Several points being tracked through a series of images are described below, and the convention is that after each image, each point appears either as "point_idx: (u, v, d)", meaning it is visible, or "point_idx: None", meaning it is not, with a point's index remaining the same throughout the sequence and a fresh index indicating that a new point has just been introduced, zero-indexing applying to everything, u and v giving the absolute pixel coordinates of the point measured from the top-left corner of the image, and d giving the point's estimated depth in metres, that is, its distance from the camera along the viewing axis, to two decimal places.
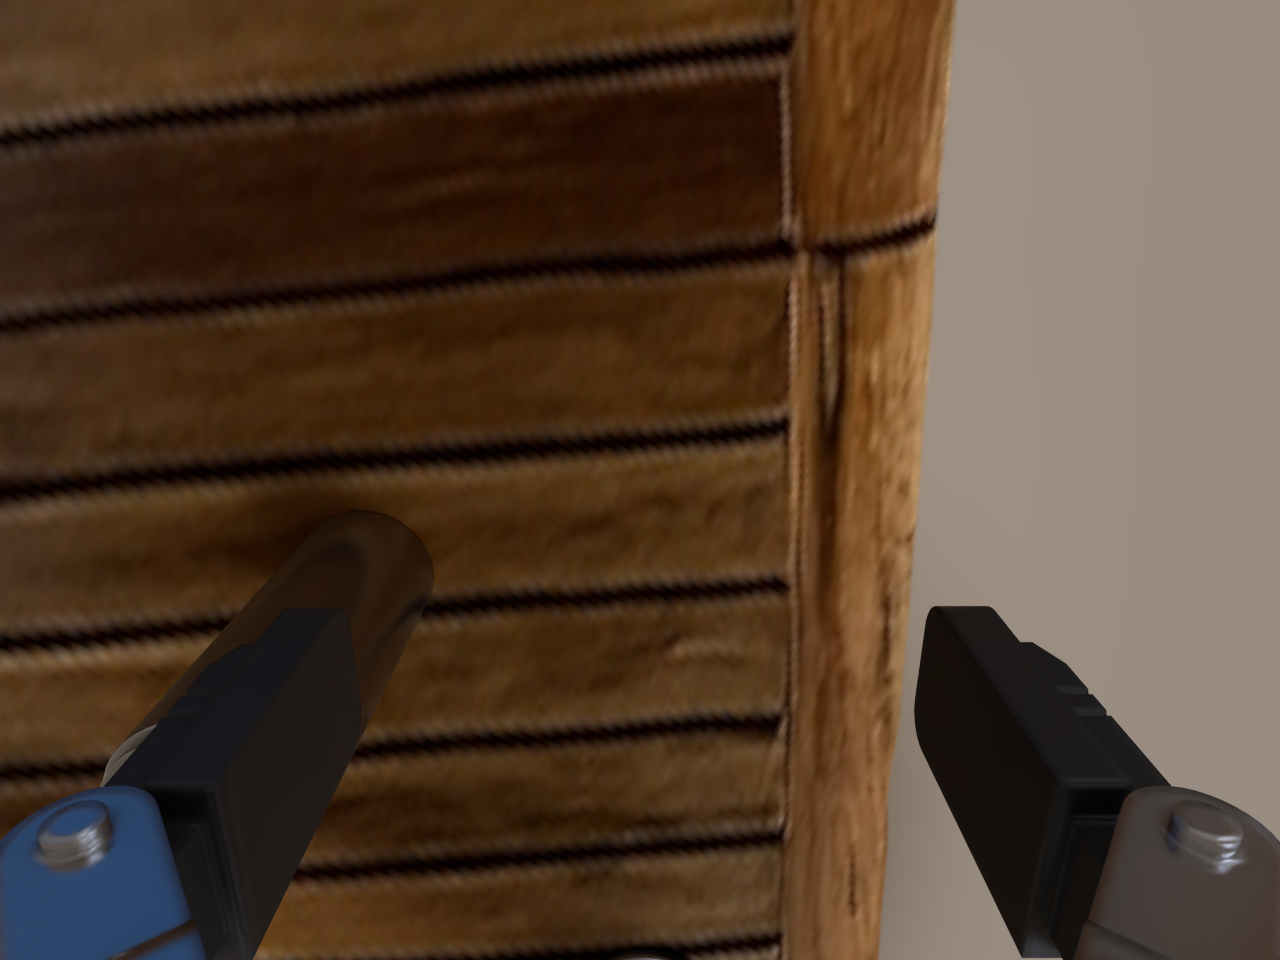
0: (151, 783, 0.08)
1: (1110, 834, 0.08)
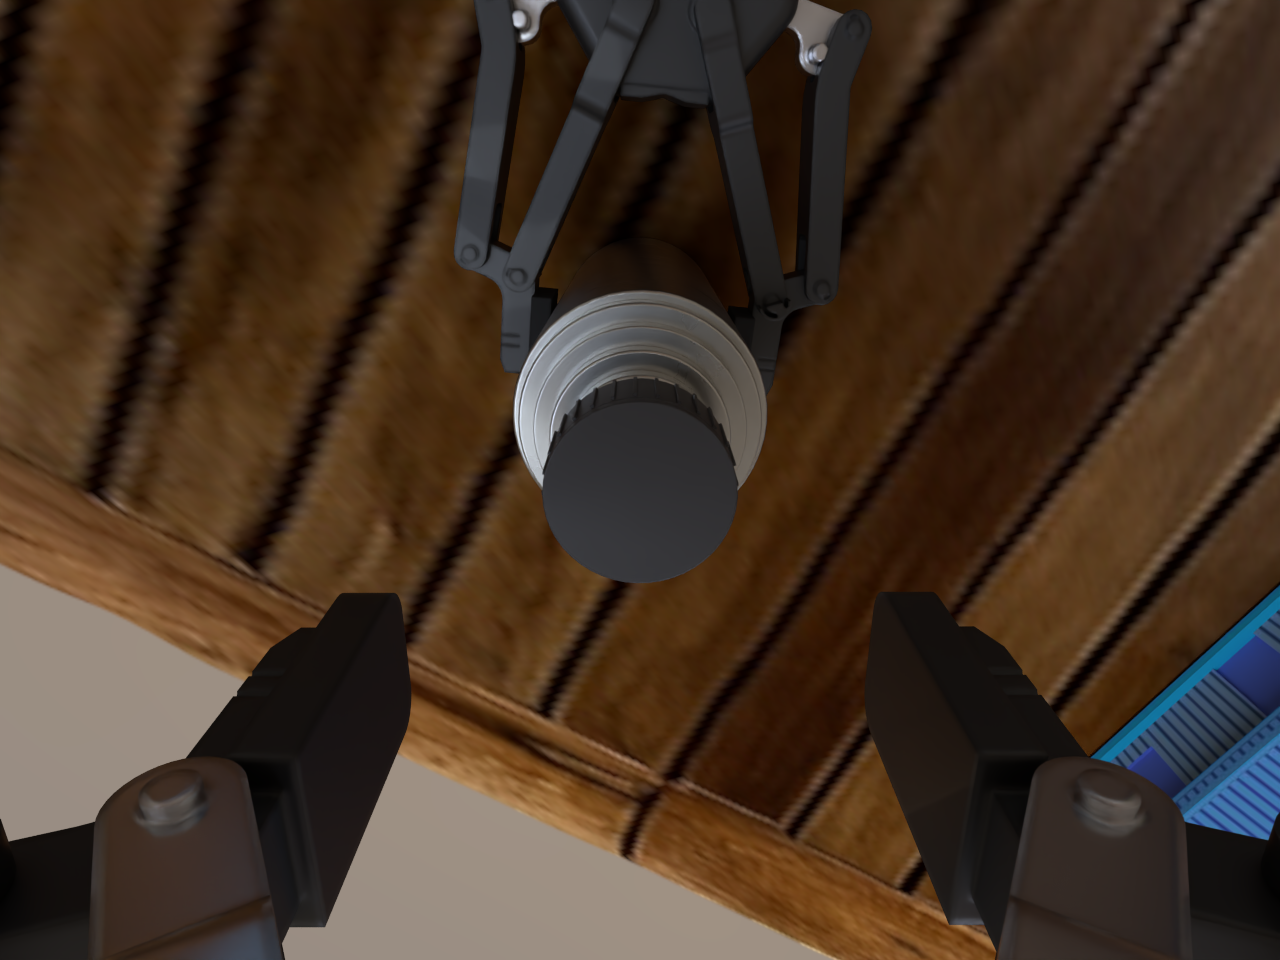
0: (236, 754, 0.08)
1: (1025, 803, 0.08)
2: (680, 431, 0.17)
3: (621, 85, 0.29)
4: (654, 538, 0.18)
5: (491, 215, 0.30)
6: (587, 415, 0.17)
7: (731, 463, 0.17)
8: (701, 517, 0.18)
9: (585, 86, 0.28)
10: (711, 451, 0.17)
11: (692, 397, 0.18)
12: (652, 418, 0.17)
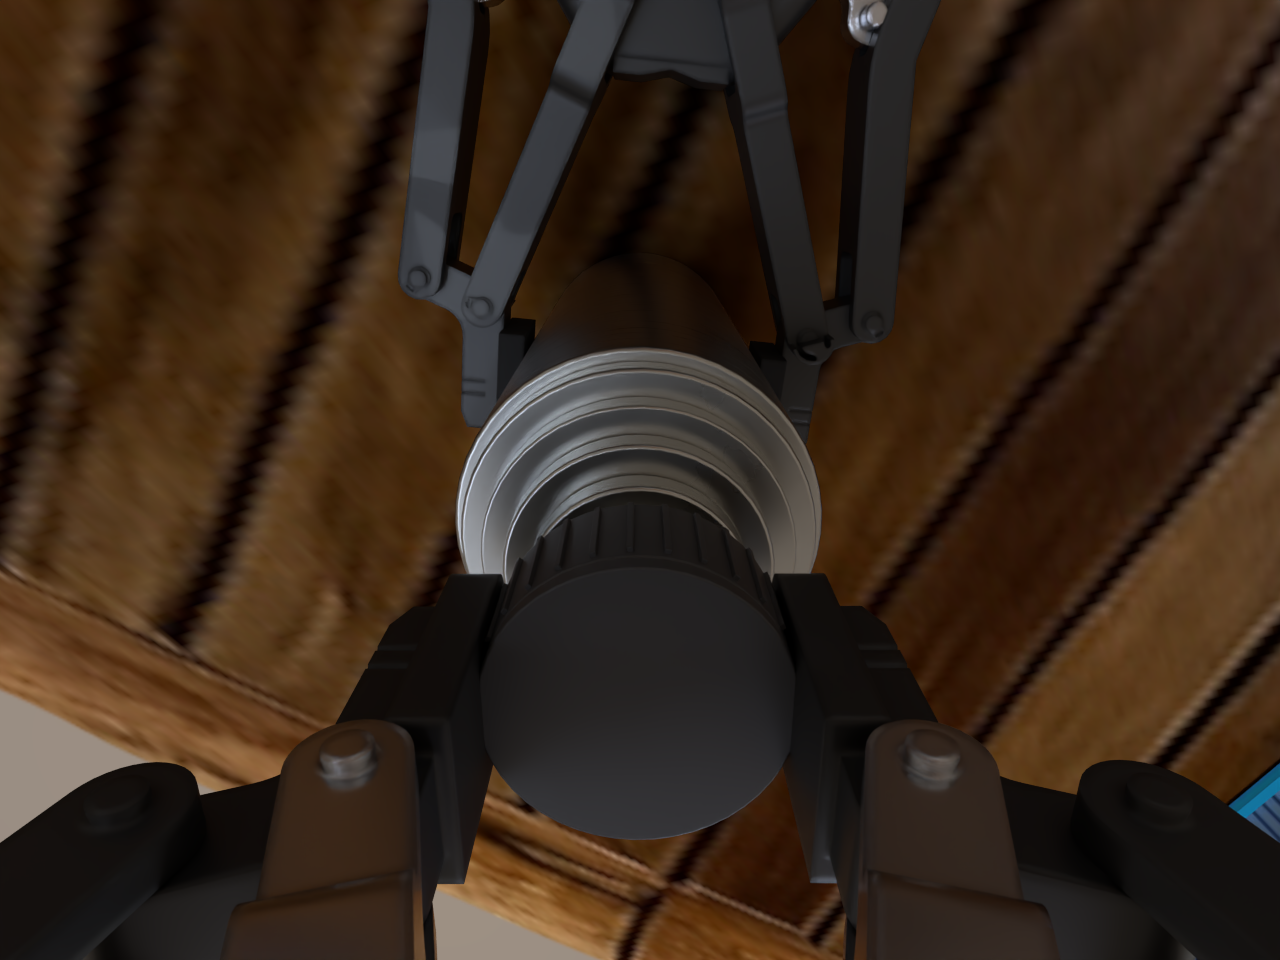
0: (392, 718, 0.09)
1: None
2: (706, 614, 0.10)
3: (614, 58, 0.22)
4: (663, 775, 0.11)
5: (445, 229, 0.23)
6: (548, 588, 0.10)
7: (792, 663, 0.10)
8: (740, 744, 0.11)
9: (566, 59, 0.21)
10: (758, 645, 0.10)
11: (722, 536, 0.11)
12: (659, 594, 0.10)
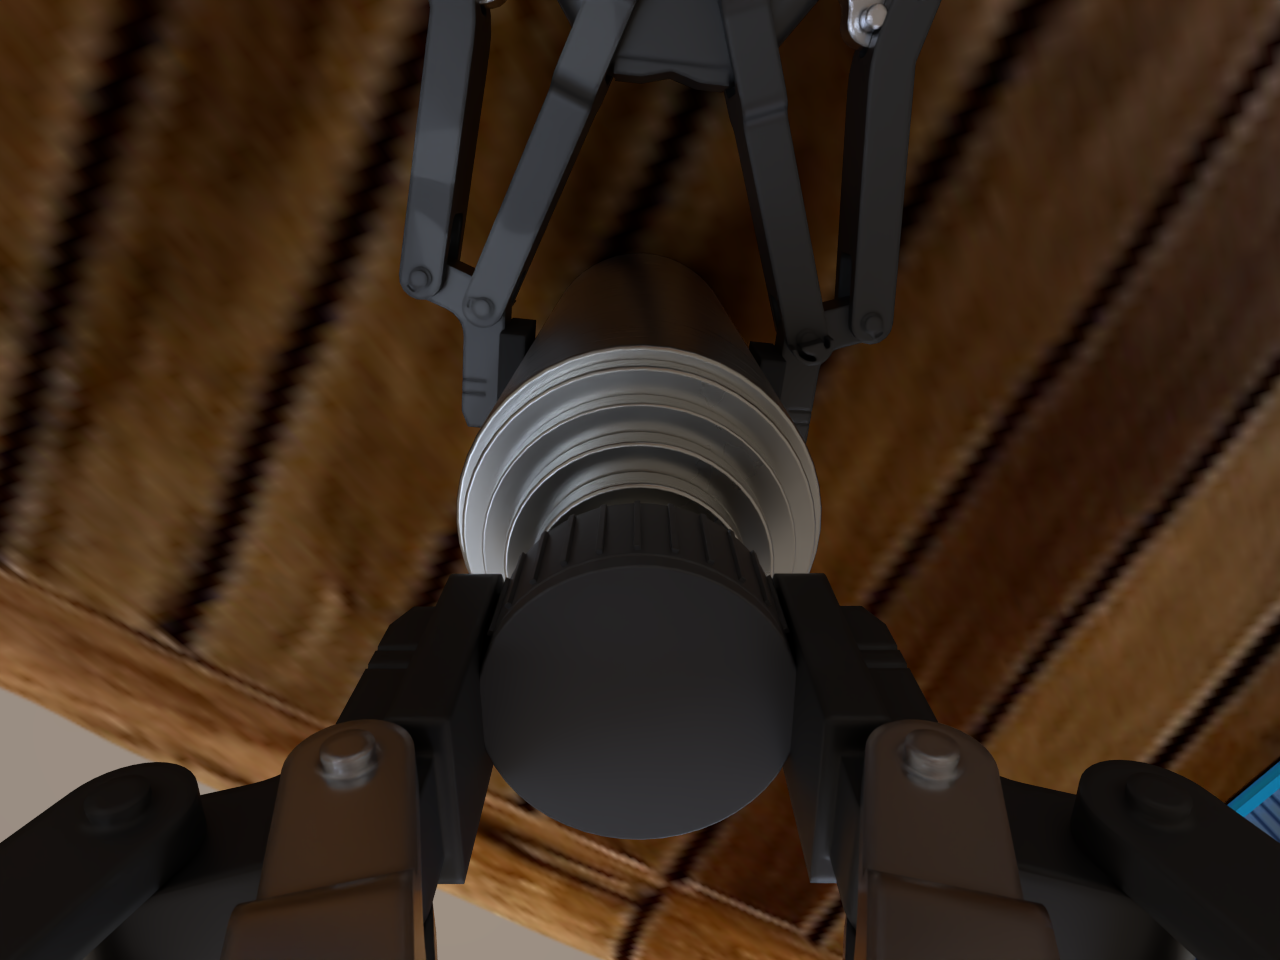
0: (392, 718, 0.09)
1: None
2: (513, 674, 0.10)
3: (615, 60, 0.22)
4: (711, 680, 0.10)
5: (446, 229, 0.23)
6: (524, 796, 0.11)
7: (548, 590, 0.10)
8: (658, 616, 0.10)
9: (567, 60, 0.21)
10: (534, 625, 0.10)
11: None
12: (502, 717, 0.10)
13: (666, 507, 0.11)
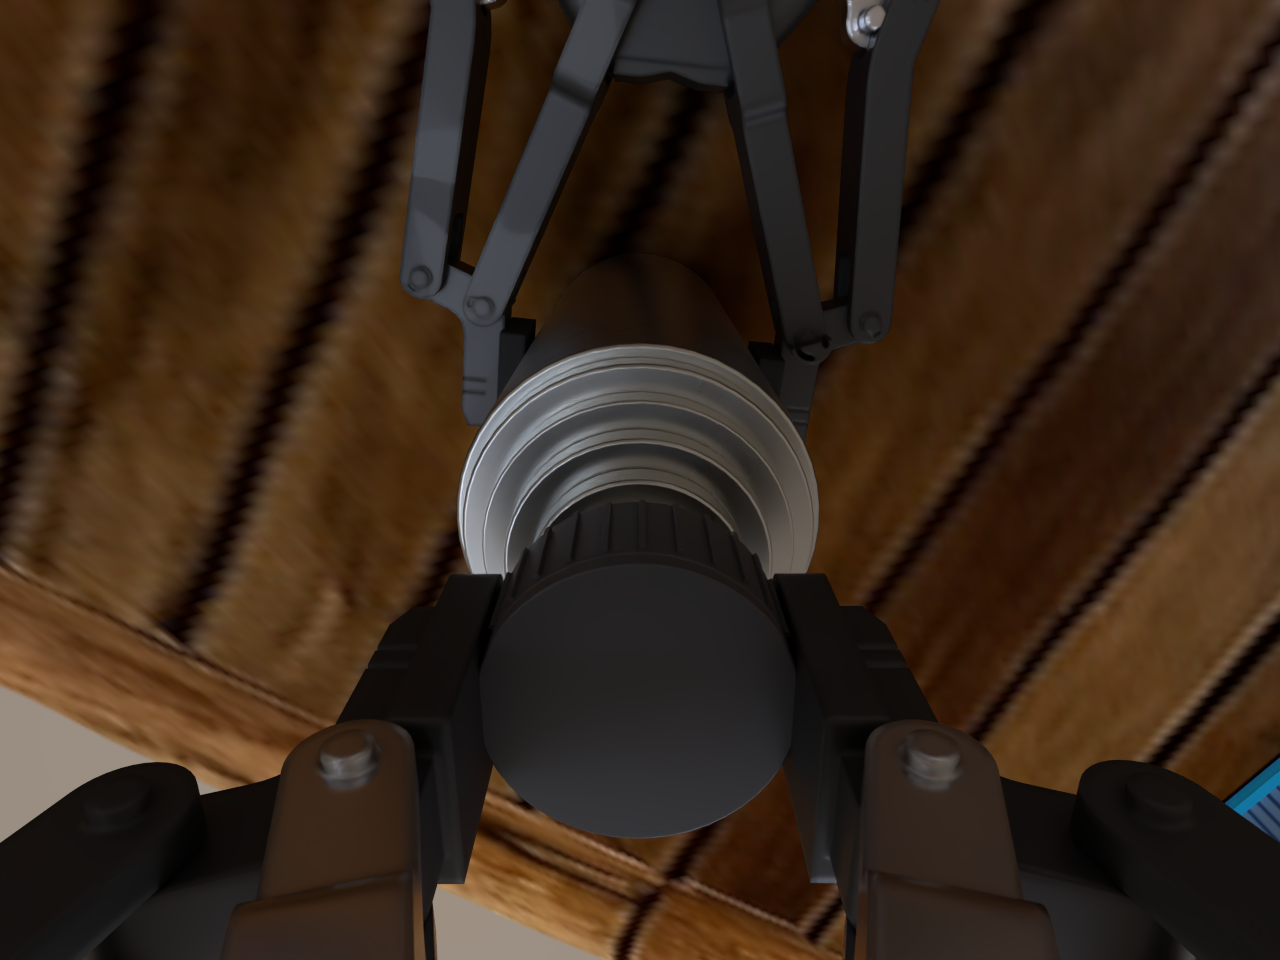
0: (392, 718, 0.09)
1: None
2: (618, 813, 0.11)
3: (615, 60, 0.22)
4: (585, 657, 0.10)
5: (447, 229, 0.23)
6: (761, 787, 0.11)
7: (524, 798, 0.11)
8: (527, 712, 0.10)
9: (567, 61, 0.21)
10: (561, 804, 0.11)
11: None
12: (666, 817, 0.11)
13: None
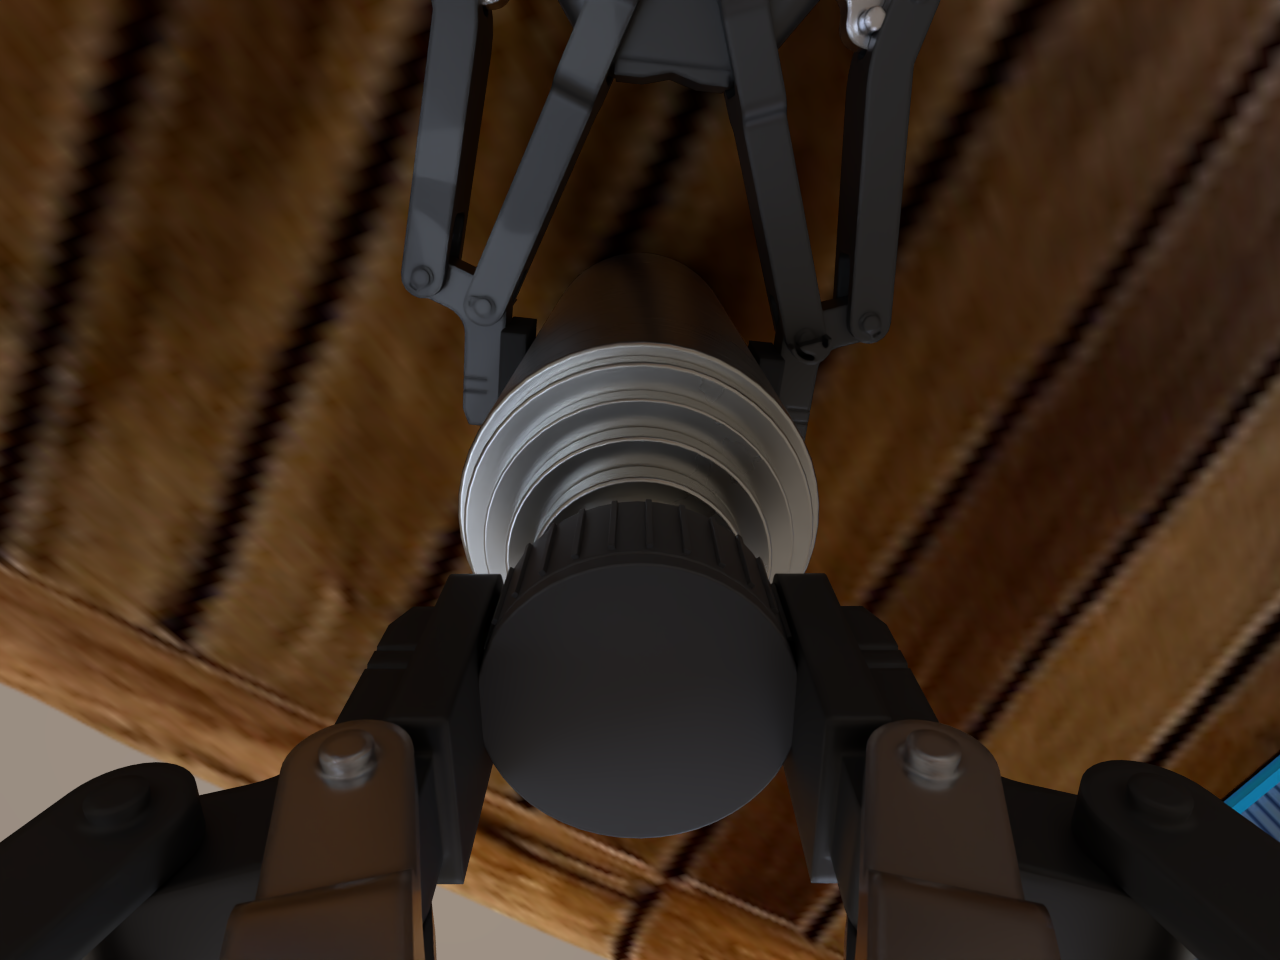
0: (391, 718, 0.09)
1: None
2: (769, 706, 0.10)
3: (616, 61, 0.22)
4: (587, 761, 0.11)
5: (448, 228, 0.23)
6: (715, 578, 0.10)
7: (762, 788, 0.11)
8: (659, 797, 0.11)
9: (568, 61, 0.22)
10: (764, 758, 0.11)
11: None
12: (766, 663, 0.10)
13: None
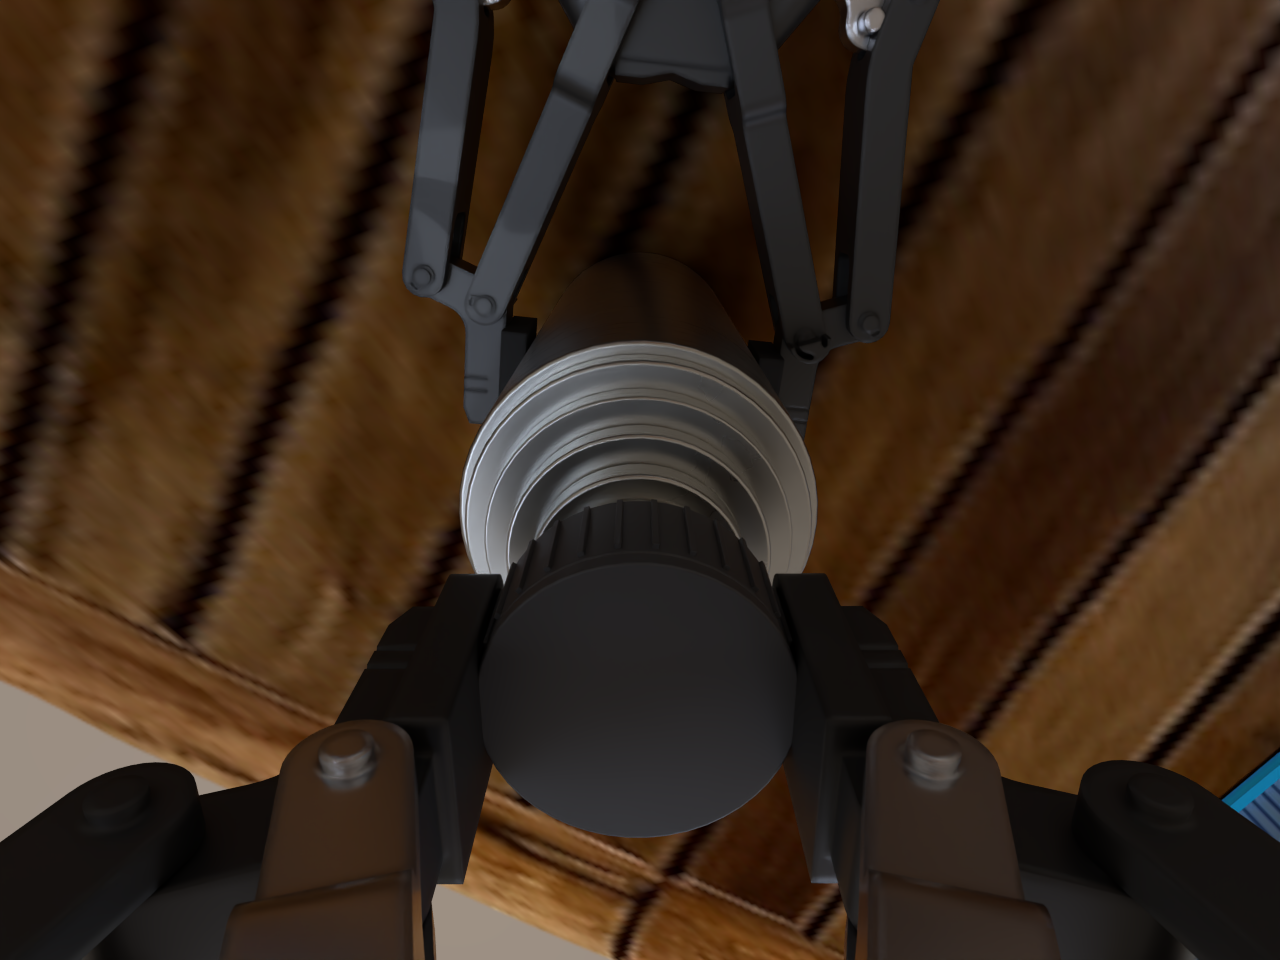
0: (391, 718, 0.09)
1: None
2: (607, 596, 0.10)
3: (616, 61, 0.22)
4: (707, 743, 0.11)
5: (449, 228, 0.24)
6: (479, 669, 0.10)
7: (713, 580, 0.10)
8: (742, 673, 0.10)
9: (569, 61, 0.22)
10: (672, 587, 0.10)
11: (615, 510, 0.11)
12: (556, 610, 0.10)
13: None
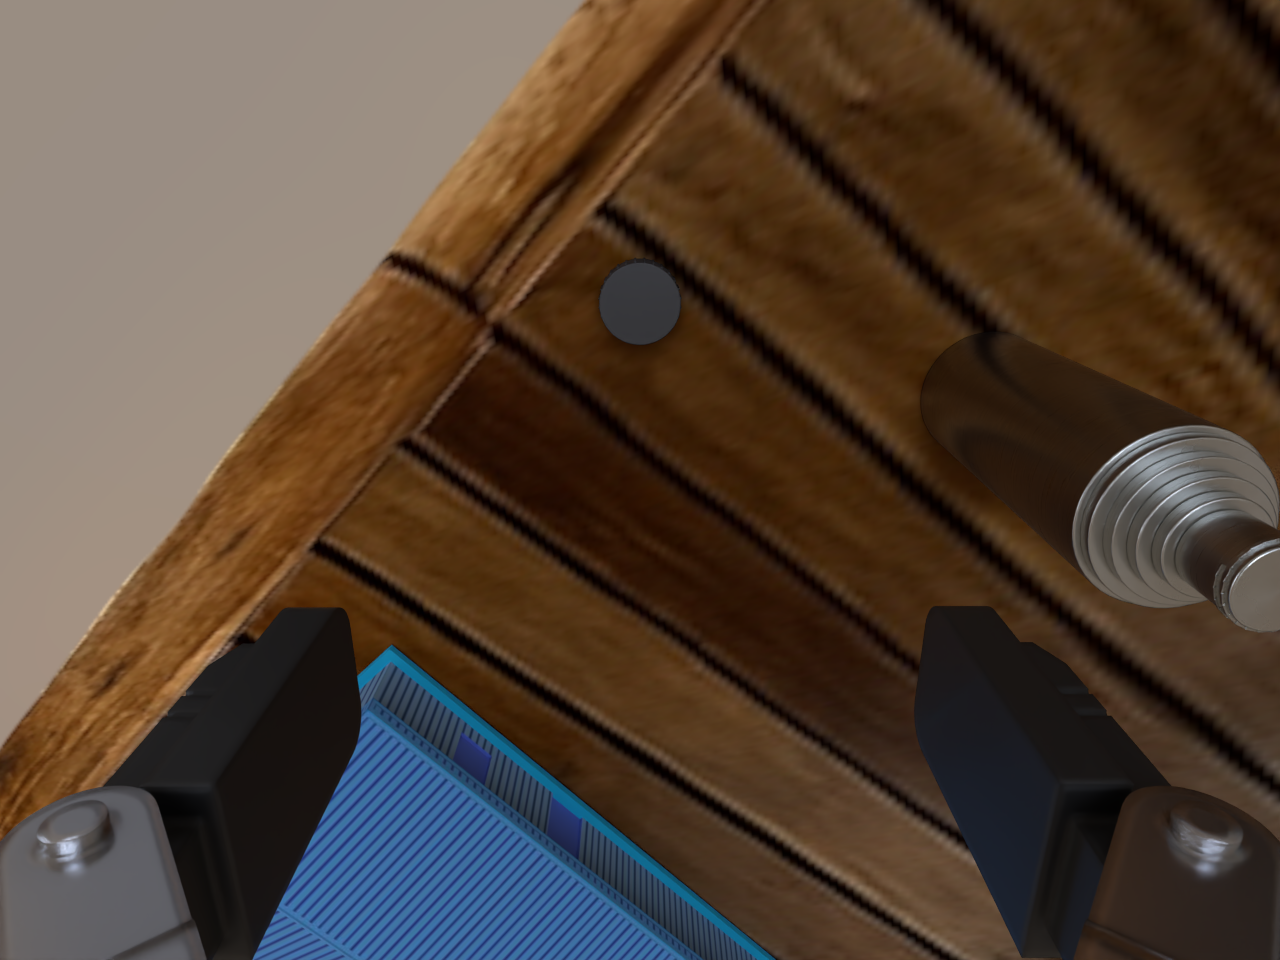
0: (151, 783, 0.08)
1: (1110, 834, 0.08)
2: (632, 271, 0.41)
3: None
4: (657, 314, 0.42)
5: None
6: None
7: (658, 267, 0.41)
8: (665, 294, 0.42)
9: None
10: (648, 269, 0.41)
11: (634, 259, 0.43)
12: (620, 275, 0.41)
13: (676, 284, 0.43)
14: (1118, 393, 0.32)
